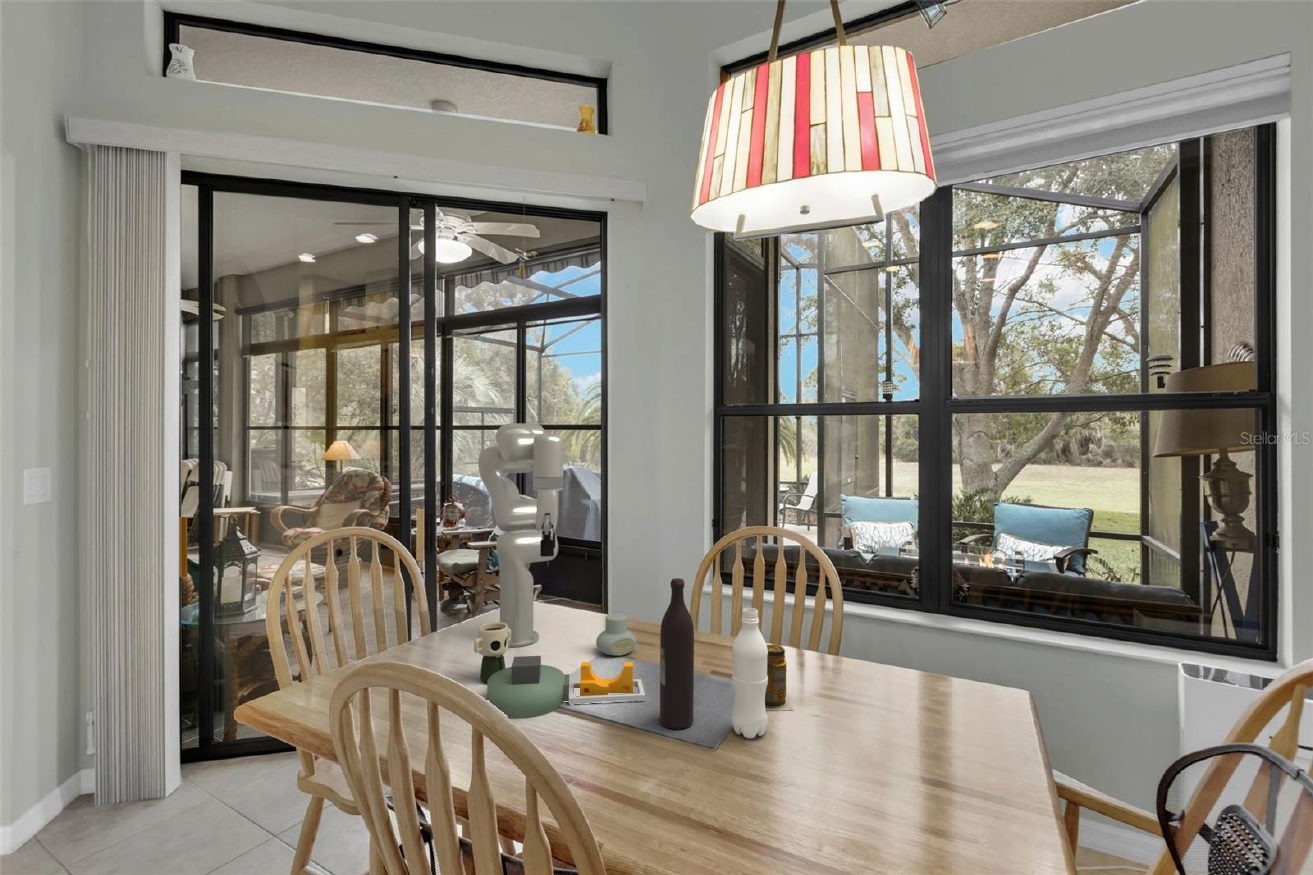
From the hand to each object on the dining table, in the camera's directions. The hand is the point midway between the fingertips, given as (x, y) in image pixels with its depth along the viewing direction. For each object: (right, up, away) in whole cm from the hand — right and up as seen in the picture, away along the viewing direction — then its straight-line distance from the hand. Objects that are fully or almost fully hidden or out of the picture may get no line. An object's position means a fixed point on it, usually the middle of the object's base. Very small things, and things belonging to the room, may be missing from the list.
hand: (548, 552), depth 157 cm
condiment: (+53, -31, -16) cm, 64 cm away
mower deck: (+7, -31, -15) cm, 35 cm away
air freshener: (+16, -30, +15) cm, 37 cm away
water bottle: (+46, -31, -30) cm, 63 cm away
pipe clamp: (+16, -31, -12) cm, 36 cm away
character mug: (-13, -31, -4) cm, 33 cm away
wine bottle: (+31, -31, -26) cm, 51 cm away
